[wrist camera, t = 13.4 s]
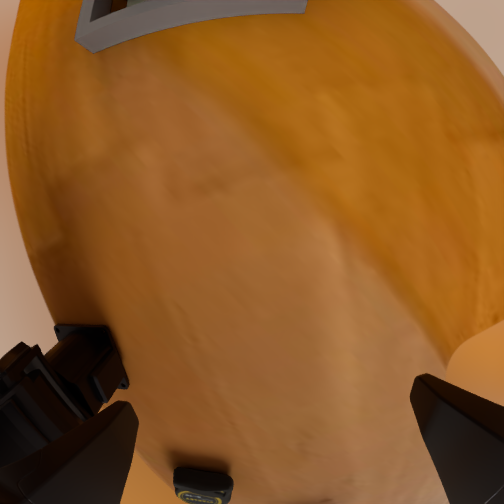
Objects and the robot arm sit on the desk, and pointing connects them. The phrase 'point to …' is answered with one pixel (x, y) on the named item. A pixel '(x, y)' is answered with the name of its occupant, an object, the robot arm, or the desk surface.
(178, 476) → the tape measure
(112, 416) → the robot arm
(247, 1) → the charging station
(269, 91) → the desk surface
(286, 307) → the desk surface
